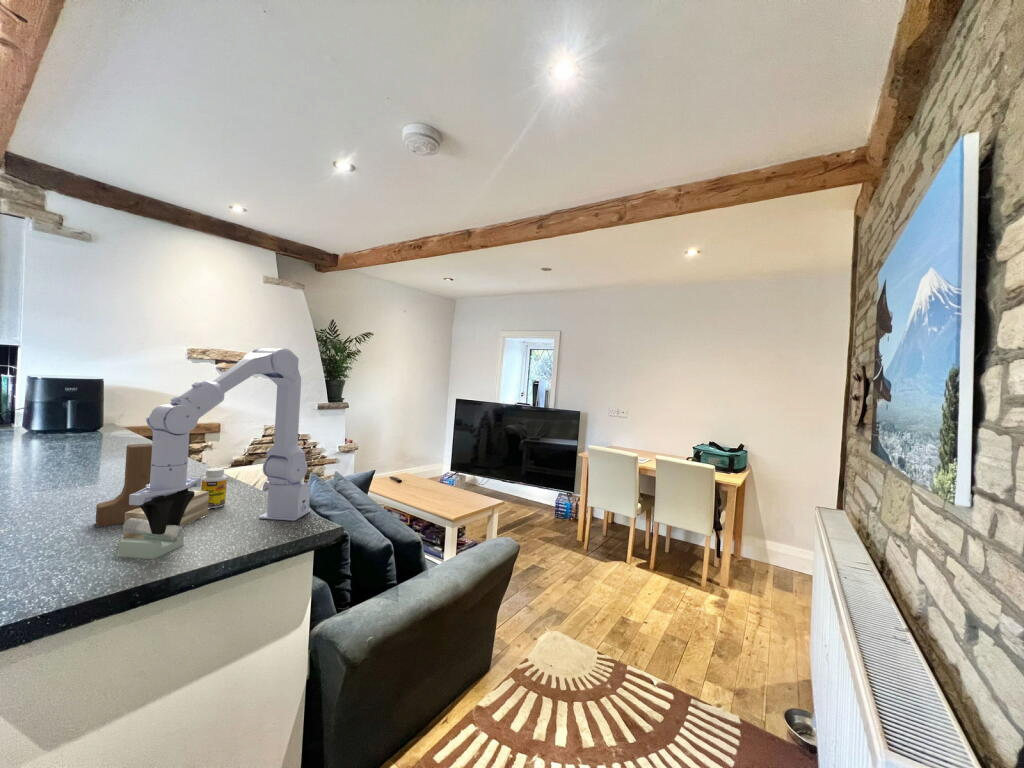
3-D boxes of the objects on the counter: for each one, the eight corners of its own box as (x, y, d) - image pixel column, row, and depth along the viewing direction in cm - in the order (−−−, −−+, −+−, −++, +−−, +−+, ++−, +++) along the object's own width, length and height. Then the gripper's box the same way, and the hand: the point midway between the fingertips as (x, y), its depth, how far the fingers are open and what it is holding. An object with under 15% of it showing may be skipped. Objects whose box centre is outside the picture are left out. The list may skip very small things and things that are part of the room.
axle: (181, 537, 84) (183, 524, 84) (169, 543, 81) (171, 529, 81) (135, 529, 84) (137, 515, 84) (121, 534, 81) (123, 520, 81)
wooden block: (96, 528, 92) (101, 448, 92) (95, 522, 95) (100, 445, 95) (149, 519, 99) (154, 445, 99) (146, 514, 102) (151, 443, 102)
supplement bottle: (201, 511, 107) (203, 472, 107) (198, 505, 111) (201, 468, 111) (227, 507, 110) (229, 470, 110) (223, 502, 114) (225, 466, 114)
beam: (207, 515, 103) (209, 491, 103) (141, 543, 85) (143, 513, 85) (192, 514, 103) (193, 490, 103) (123, 541, 85) (125, 512, 86)
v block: (183, 544, 86) (184, 530, 86) (153, 559, 79) (154, 543, 79) (150, 542, 86) (151, 528, 86) (118, 556, 79) (119, 541, 79)
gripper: (180, 456, 90) (176, 517, 90) (114, 469, 75) (110, 543, 75) (211, 458, 90) (207, 519, 89) (152, 472, 75) (147, 545, 75)
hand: (165, 530), depth 82 cm, fingers closed on axle, 3 cm apart
